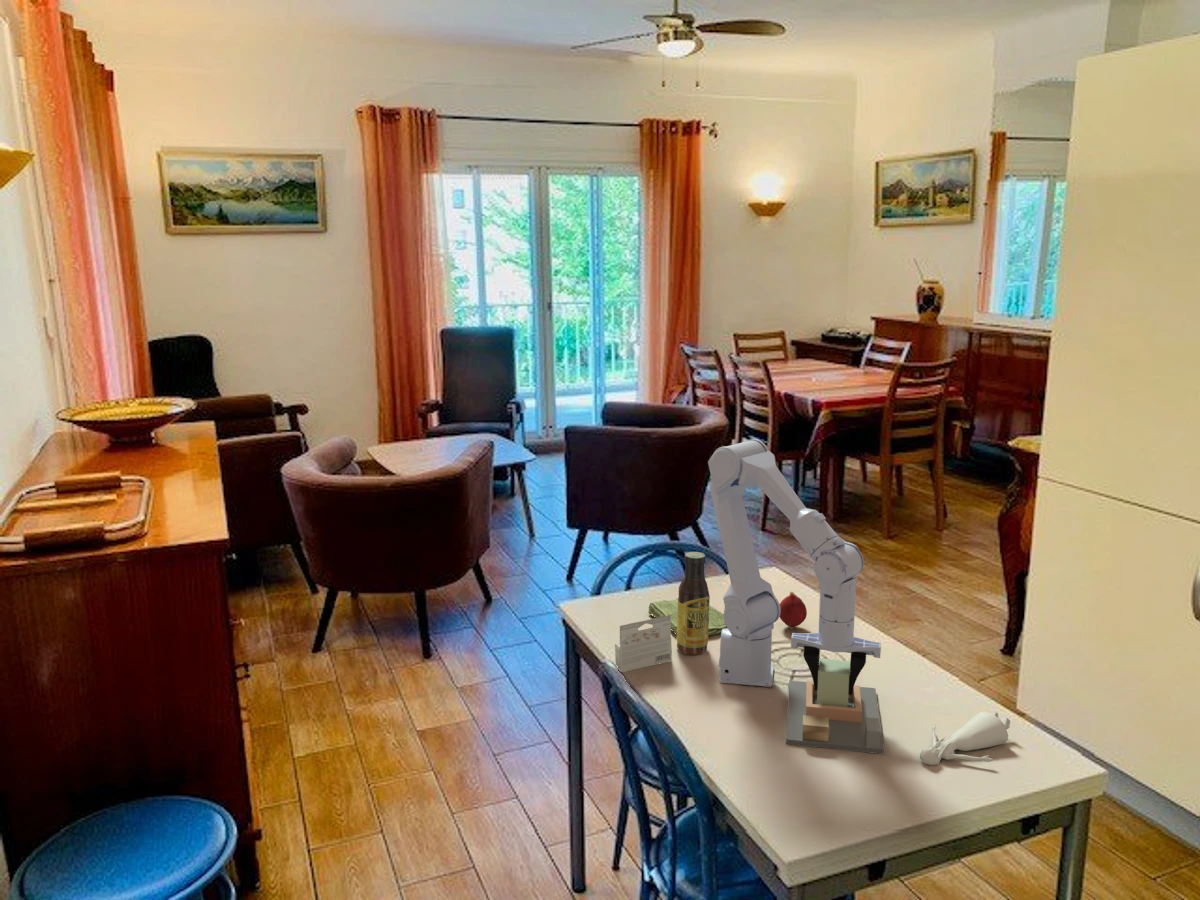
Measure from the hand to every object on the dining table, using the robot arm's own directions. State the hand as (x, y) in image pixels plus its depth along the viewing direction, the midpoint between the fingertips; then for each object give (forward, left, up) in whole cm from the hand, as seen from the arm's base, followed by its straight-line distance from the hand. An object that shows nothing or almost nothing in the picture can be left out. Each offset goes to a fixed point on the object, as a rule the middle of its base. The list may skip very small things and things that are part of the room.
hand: (833, 689), depth 149 cm
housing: (0, -2, -4) cm, 4 cm away
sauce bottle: (-26, +19, -4) cm, 33 cm away
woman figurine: (+20, -8, -4) cm, 22 cm away
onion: (-7, +33, -4) cm, 34 cm away
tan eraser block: (-3, -10, -4) cm, 11 cm away
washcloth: (-29, +32, -5) cm, 43 cm away
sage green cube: (0, 0, -2) cm, 2 cm away
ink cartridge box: (-35, +11, -4) cm, 37 cm away
